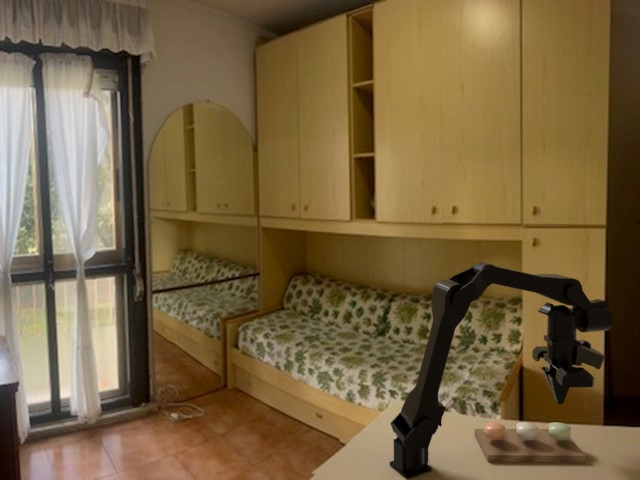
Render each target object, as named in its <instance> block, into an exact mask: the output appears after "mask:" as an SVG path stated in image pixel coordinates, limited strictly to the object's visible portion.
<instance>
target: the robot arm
mask: <svg viewBox="0 0 640 480" xmlns="http://www.w3.org/2000/svg"><path fill="white" fill-rule="evenodd" d="M493 284H494V285H496V286H497V285H498V286H501V287H502V286H503V287H506V288H507V287H508V288H512V289H517V290H521V291H525V292H526V291H527V292H530V293H535V294H537V295H538V296H541V297H543V298H546V299H548V300H551V301H554V302H557V303H560V304H558V305H554V304H553V303H551V302H548V301H547V302H545V304H543V305H542V306H541V307H539V308H538V309H537V312H538V313H540V314H543V315H544V316H547V319H546V321H547V323H546V325H547V326H546V327H547V329H546V330H547V331H546V334H544V335H543V340H544V341H545V342H546V345H545V346H543V345H542V346H535V347H534V348H533V349H532V353H531V354H532V359H533V360H534V361H535V362H540V361H541V359H543V362H544V363H545V364H544V366H542V367H541V370H542V372H543V374H544V376H545V379H546V381H547V383H548V385H549V388H550V390H551V393H552V395H553V398H554V400H555V401H556V403H557V404H558V405H563V404H564V403H565V400H566V397H567V395H568V393H569V390H570V388H594V386H595V377H594V376H593V375H592V374H591V373H590V372H589V371H587V370H586V369H585V368H584V367H583V365H584V364H585V365H586V366H590V367H593V368H594V369H596V370H601V368H602V366H603V363H604V360H605V358H606V355H604V354H603V353H602V352H600V351H599V350H597V349H595V348H592V343H591V342H590V341H587V340H585V339H580V340H579V339H577V331H578V332H581V333H592V332H606V331H609V330H610V329H611V328H612V327H613V324H614V317H613V315H612V312H611V310H610V309H609V307H608V306H607V300H605V299H602V298H597V299H592V300H590V299H589V298H588V296H587V295H586V293H585V292H584V291H583V289H584V288H583V285H582V283H581V281H580V280H578V279H576V278H573V277H569V276H565V275H562V274H557V273H540V274H534V273H533V274H532V273H529V272H525V271H519V270H515V269H511V268H508V267H507V268H506V267H500V266H496V265H494V264H493V263H492V264H491V263H487V262H485V261H479V262H477V263H474V264H473V265H472V266H470V267H469V268H466V269H465V270H463V271H460V272H457V273H455V274H454V275H452V276H450V277H449V278H447V279H441V280H440V281H438V282H437V283H435V284H434V286H433V288H432V294H431V315H432V322H431V323H432V324H431V327H430V331H429V335H428V339H427V341H426V342H427V343H426V346H425V351H424V354H423V357H422V362H421V366H420V369H419V373H418V376H417V381H416V383H415V386H414V388H413V389H412V390H411V391H410V392H409V393H408V394H407V396H406V398H405V400H404V402H403V404H402V407H401V411H400V412H399V413H398V414H397V415H396V416H395V418H394V419H393V420H392V421H391V422H390V426H391V429H392V432H394V434H395V435H396V436H397V437H396V438H393V460H391V461H389V466H391V467H392V468H393V469H394V470H395V471H397V472H398V473H400V474H401V475H402V476H403V477H404V478H405V479H410V478H414V477H417V476H420V475H423V474H426V473H428V472H431V471H432V470H433V467H431V465H429V447H430V444H431V441H432V438H433V435H435V434H436V433H437V431H438V428H439V427H440V428H441V427H442V420H443V416H444V414H445V412H446V406H445V405H444V404H443V403H442V402H441V401H440V400H439V391H440V388H441V384H442V380H443V376H444V373H445V368H446V365H447V362H448V358H449V354H450V351H451V346H452V342H453V339H454V336H455V332H456V329H457V327H458V326H459V325H460V324H461V322H462V321H464V319H465V318H466V316H467V314H468V312H469V310H470V309H469V308H470V306H471V305H472V303H473V302H474V301H476V300H477V299H479V298H480V297H481V296H482V295H483V294H484V292H485V291H486V290H487V288H488V287H489V286H491V285H493ZM568 306H571V307H568ZM579 366H580V367H579Z"/></svg>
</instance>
